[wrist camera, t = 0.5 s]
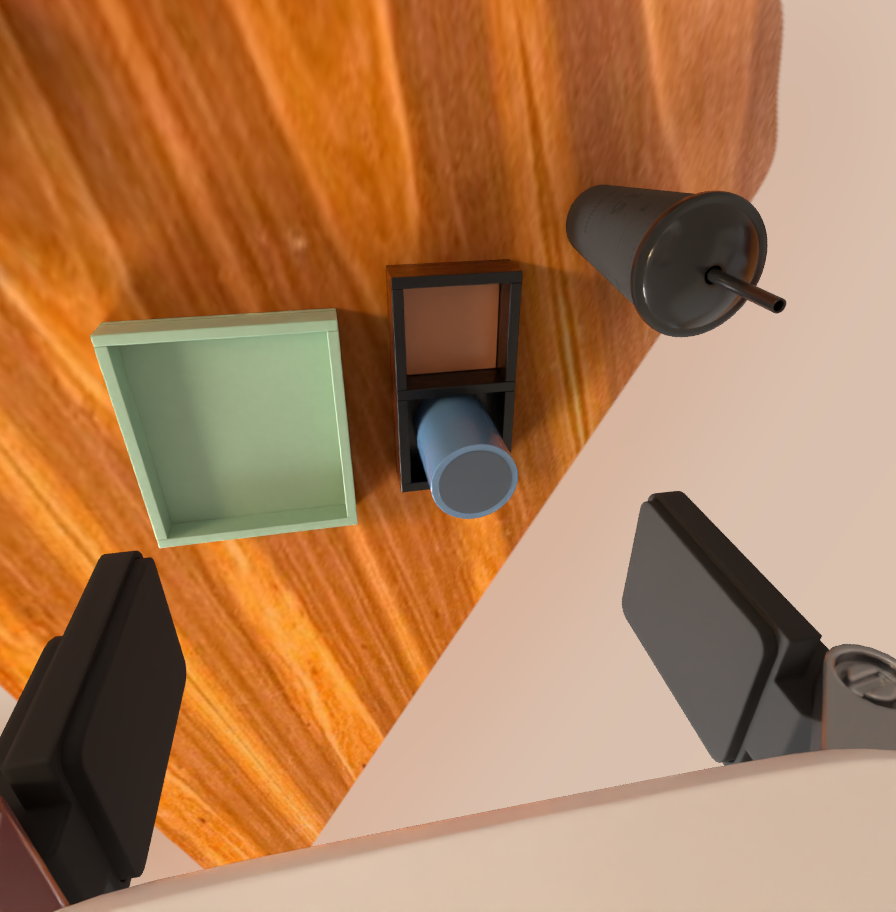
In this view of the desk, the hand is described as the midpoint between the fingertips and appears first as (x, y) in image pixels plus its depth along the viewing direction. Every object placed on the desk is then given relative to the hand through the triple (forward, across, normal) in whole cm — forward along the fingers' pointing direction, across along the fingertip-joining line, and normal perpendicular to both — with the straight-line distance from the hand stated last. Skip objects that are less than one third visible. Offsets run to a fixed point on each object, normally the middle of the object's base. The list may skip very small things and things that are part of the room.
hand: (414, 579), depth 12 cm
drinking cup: (+34, -18, -1) cm, 39 cm away
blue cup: (+34, -8, +14) cm, 38 cm away
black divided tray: (+35, -8, +10) cm, 37 cm away
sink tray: (+35, +8, +13) cm, 38 cm away
